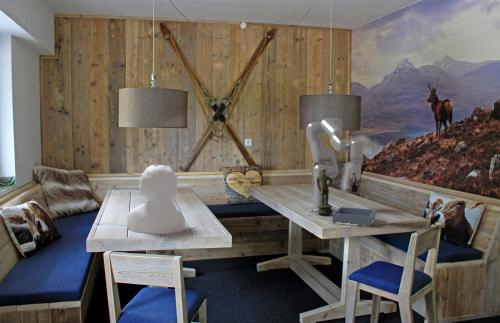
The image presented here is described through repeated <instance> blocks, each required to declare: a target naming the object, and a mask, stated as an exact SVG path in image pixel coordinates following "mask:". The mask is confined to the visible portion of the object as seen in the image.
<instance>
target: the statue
mask: <svg viewBox="0 0 500 323" xmlns="http://www.w3.org/2000/svg"><path fill="white" fill-rule="evenodd" d="M320 172H321V175H320V176H318V177H317V178H316V181H317V186H318V189H319V192H320V195H321V200H322V204H321V206H318V208H319V210H318V212H317V214H318V213H319V215H333V209H332V208H333V205H331V204H329V195H330V193H329V192H330V190H329V187H331V186H332V184H333V181H334V180H333V178H330V177H329V176H327V175H325V173H326V169H324V168H322V169H321V170H320ZM328 181H329V183H328V184H327V182H328ZM319 182H320V184H319ZM320 185H321V187H320ZM324 195H326V197H325V202H326V204H325V205H324Z"/></svg>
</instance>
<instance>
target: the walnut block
mask: <svg viewBox="0 0 500 323" xmlns="http://www.w3.org/2000/svg"><path fill="white" fill-rule="evenodd" d="M361 182H362V179H361V178H360V179H359V180H358V181H357V192H352V179H351V180H350V186H349V187H350V188H349V189H350V190H349V193H350V194H357V195H358V194H360V193H361V184H362V183H361Z"/></svg>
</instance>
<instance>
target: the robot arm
mask: <svg viewBox="0 0 500 323" xmlns="http://www.w3.org/2000/svg"><path fill="white" fill-rule="evenodd" d="M305 129H306V130H305V135H306V138H307V141H308V144H309V148H310V154H311V158H312V160H313V162H314V163H318V164H315V165H314V166H313V167H312V174H313V175H312V176H313V206H312V207H311V208H310V210H311V209H312V210H319V208H318V206H321V204H322V200H321V195H320V192H319V189H318V186H317V181H316V178H317V177H318V176H320V175H321V172H320V170H321V169H322V168H324V169H326V173H325V175H327V176H329V177H330V178H331V179H333V178H336V177H337V176H338V174H339V167H338V162H337V157H336V153H335V152H334V150H335V151H336V152H339V153H349V164H350V169H349V170H350V171H349V180H350V181H351V179H352V192H357V181H358V180H359V179H361V177H362V175H361V174H362V173H361V172H362V171H361V170H362V165H363V163H364V162H363V161H364V142H363V141H362V140H357V139H340V138H341V137H342V135H343V123H342V120H341V119H339V118H335V117H333V118H331V117H330V118H329V117H328V118H323V119H322V120H321V121H317V122H316V121H315V122H314V121H313V122H310V123H308V125H307V126H306V128H305ZM319 136H328V137H329V142H330V146H331V147H332V148H333V149H334V150H333V149H332V148H325V147H324V143H323V142H322V141H323V140H321V138H320V137H319ZM319 184H320V182H319ZM327 184H329V183H328V181H327ZM320 187H321V185H320ZM325 197H326V195H324V205H325V204H326V202H325ZM312 210H311V211H312Z"/></svg>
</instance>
